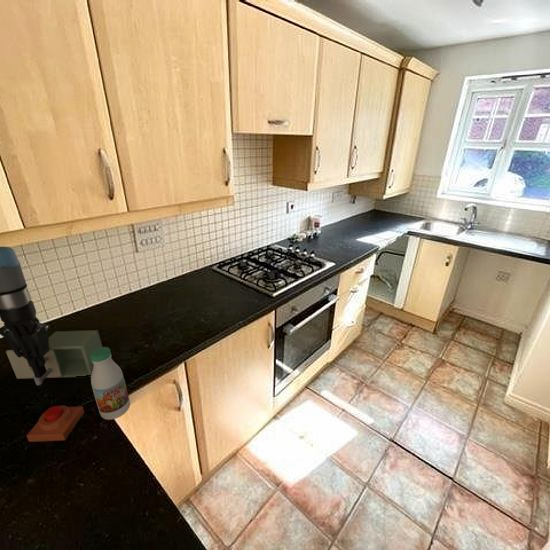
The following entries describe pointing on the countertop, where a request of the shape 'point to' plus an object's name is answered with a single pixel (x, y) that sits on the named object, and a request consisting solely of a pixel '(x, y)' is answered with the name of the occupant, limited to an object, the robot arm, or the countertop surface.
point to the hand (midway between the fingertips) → (41, 374)
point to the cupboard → (75, 351)
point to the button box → (56, 425)
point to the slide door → (26, 371)
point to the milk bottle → (108, 385)
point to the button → (53, 413)
